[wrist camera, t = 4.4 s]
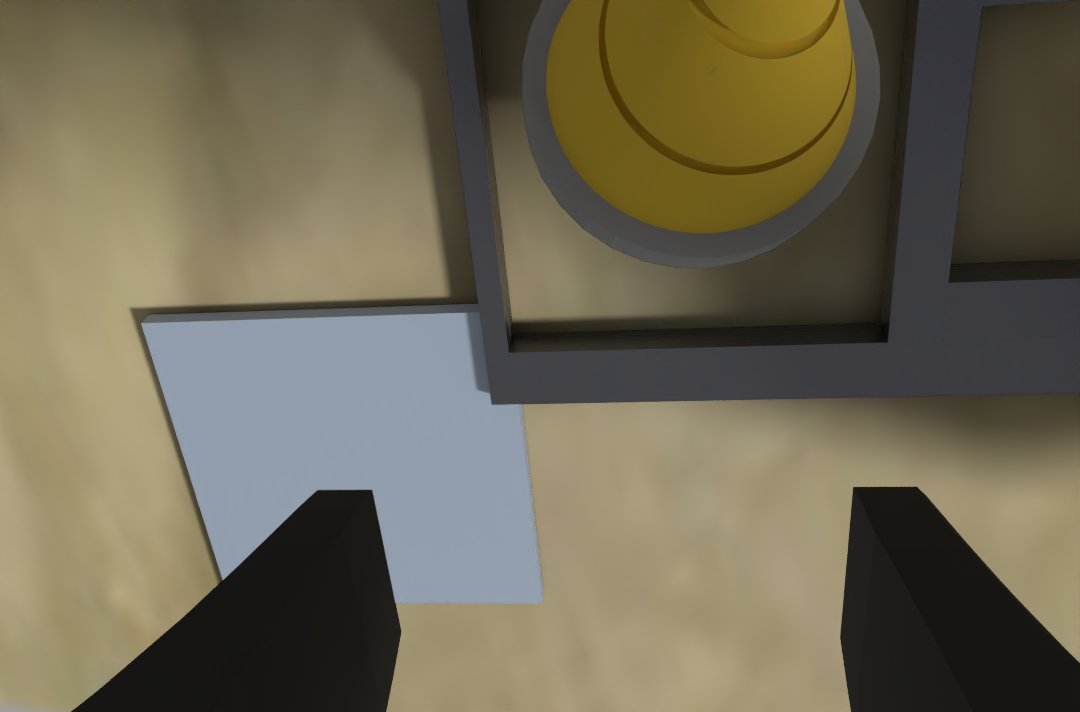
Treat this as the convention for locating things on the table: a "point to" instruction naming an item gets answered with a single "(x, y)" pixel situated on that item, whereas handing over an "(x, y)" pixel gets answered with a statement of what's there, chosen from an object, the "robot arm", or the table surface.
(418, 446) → the mat
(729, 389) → the rectangular frame
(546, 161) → the yellow cone
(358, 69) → the table surface
